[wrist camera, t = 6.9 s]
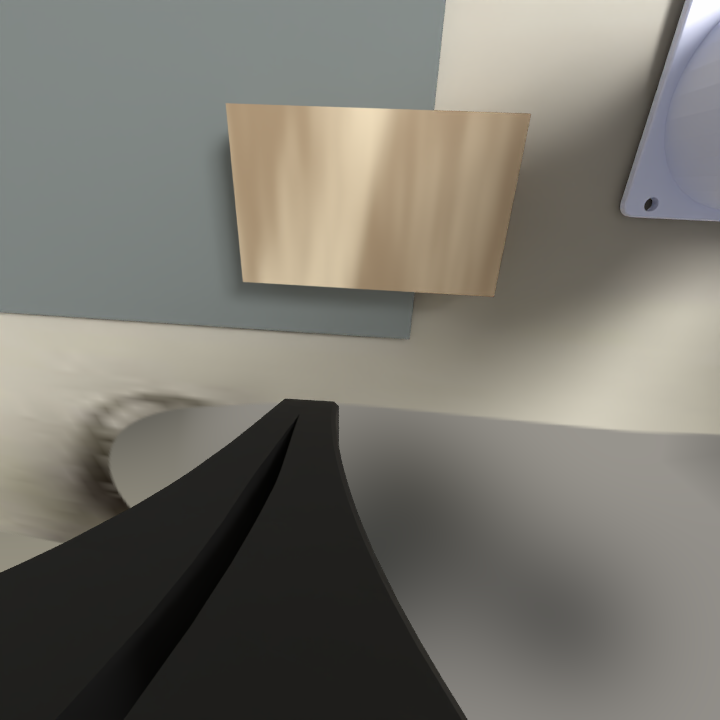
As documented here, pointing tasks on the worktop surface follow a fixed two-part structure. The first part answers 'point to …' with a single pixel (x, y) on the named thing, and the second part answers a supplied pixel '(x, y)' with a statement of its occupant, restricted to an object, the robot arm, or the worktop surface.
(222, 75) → the rubber mat
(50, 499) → the worktop surface
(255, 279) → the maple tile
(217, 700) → the robot arm
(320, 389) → the worktop surface
